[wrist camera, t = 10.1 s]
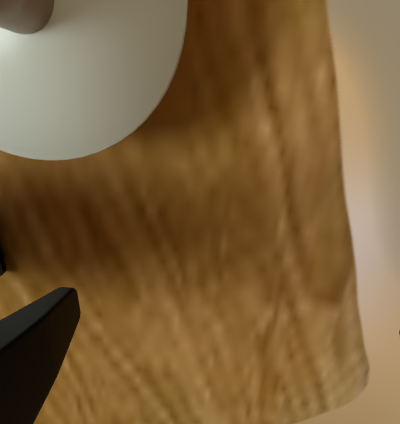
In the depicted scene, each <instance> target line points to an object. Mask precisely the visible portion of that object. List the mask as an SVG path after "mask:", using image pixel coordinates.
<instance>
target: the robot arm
mask: <svg viewBox="0 0 400 424" xmlns="http://www.w3.org/2000/svg"><path fill="white" fill-rule="evenodd" d="M5 272H6V266H5V262H4V259H3V255H2V252H1V248H0V276H1V275H3V274H4V273H5ZM79 319H80V306H79V300H78V294H77V291H76V289H74V288H67V287H60V288H58V289H56V290H54V291H52V292H50V293H49V294H47V295H45V296H43V297H41V298H40V299H38V300H36V301H34V302H32V303H31V304H29V305H27V306H25V307H24V308H22V309H20V310H18V311H16V312H15V313H13V314H11V315H9V316H7V317H6V318H4V319H2V320H0V424H33V423H34V421H35V419H36V417H37V415H38V413H39V411H40V409H41V407H42V405H43V403H44V401H45V400H46V398H47V396H48V394H49V392H50V390H51V388H52V386H53V384H54V381H55V379H56V377H57V375H58V373H59V370H60V368H61V365H62V363H63V360H64V358H65V355H66V353H67V350H68V348H69V345H70V342H71V340H72V337H73V335H74V332H75V330H76V327H77V324H78V322H79ZM399 333H400V332H399Z"/></svg>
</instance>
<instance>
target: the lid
mask: <svg viewBox="0 0 400 424" xmlns="http://www.w3.org/2000/svg"><path fill="white" fill-rule="evenodd" d="M187 15H188V0H0V150H1V151H4V152H7V153H10V154H13V155H17V156H21V157H26V158H30V159H40V160H68V159H74V158H80V157H84V156H87V155H90V154H93V153H97V152H100V151H102V150H104V149H106V148H108V147H110V146H112V145H114V144H116V143H118V142H120V141H121V140H123V139H124V138H126V137H127V136H129V135H130V134H132V133H133V132H134V131H135V130H136V129H137V128H139V127H140V126H141V125H142V124H143V123H144V122H145V121H146V120H147V119H148V118H149V116H150V115H151V114H152V113H153V111H154V110H155V109H156V108H157V106H158V105H159V103H160V102H161V100H162V98H163V97H164V95H165V93H166V92H167V90H168V88H169V86H170V84H171V81H172V79H173V77H174V74H175V72H176V70H177V66H178V63H179V60H180V56H181V53H182V50H183V44H184V39H185V33H186V28H187Z"/></svg>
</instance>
